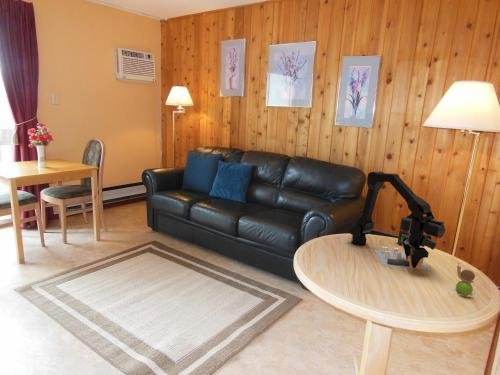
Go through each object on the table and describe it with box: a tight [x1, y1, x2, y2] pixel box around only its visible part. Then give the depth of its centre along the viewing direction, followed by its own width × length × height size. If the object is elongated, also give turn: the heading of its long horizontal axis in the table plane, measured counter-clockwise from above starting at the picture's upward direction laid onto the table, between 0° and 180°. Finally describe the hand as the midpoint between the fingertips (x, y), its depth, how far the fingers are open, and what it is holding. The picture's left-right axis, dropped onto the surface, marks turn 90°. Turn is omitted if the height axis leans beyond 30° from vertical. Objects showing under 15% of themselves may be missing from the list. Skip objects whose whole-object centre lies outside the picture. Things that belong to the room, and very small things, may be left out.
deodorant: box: [397, 216, 411, 247], centre depth 175 cm, size 6×6×15 cm
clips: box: [381, 246, 403, 260], centre depth 160 cm, size 7×6×3 cm
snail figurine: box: [455, 262, 476, 296], centre depth 129 cm, size 5×6×12 cm
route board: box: [374, 249, 431, 272], centre depth 157 cm, size 20×18×1 cm
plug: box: [387, 256, 424, 270], centre depth 150 cm, size 14×4×4 cm, turn 81°
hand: (410, 263), depth 150 cm, fingers open, 8 cm apart
